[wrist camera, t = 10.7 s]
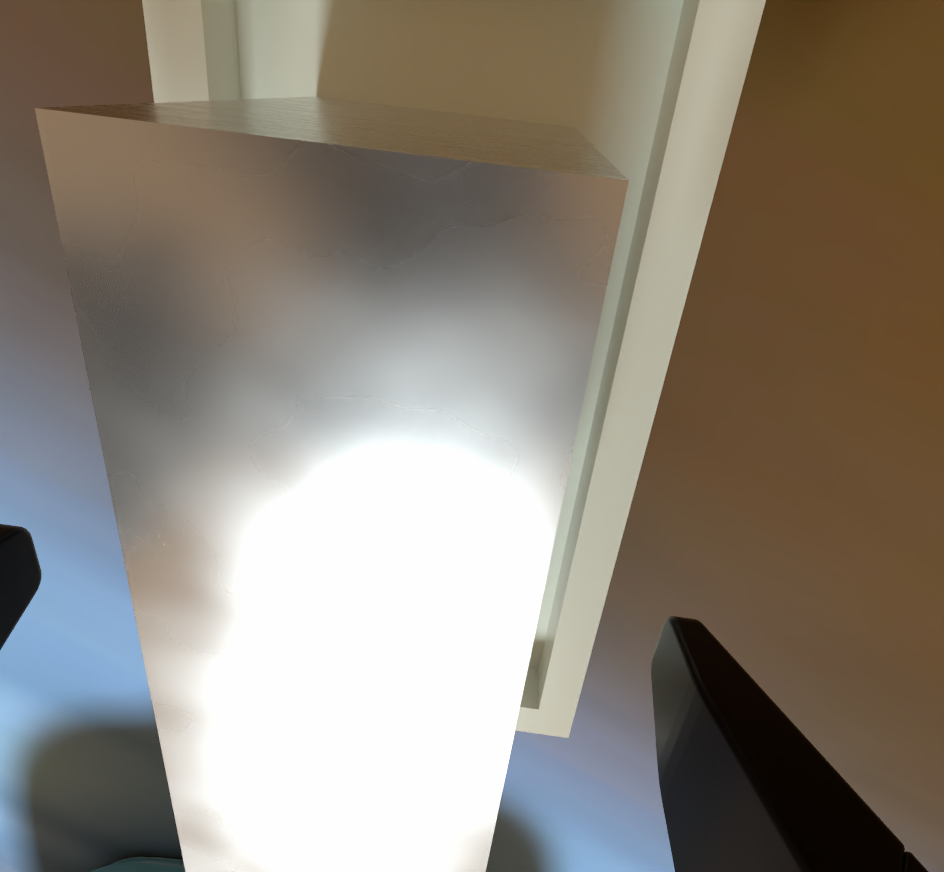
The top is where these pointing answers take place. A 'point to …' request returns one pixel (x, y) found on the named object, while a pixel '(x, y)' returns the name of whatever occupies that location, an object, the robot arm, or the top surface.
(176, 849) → the top surface
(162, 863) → the casserole dish
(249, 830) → the white rectangular block
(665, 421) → the top surface
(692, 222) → the tray
